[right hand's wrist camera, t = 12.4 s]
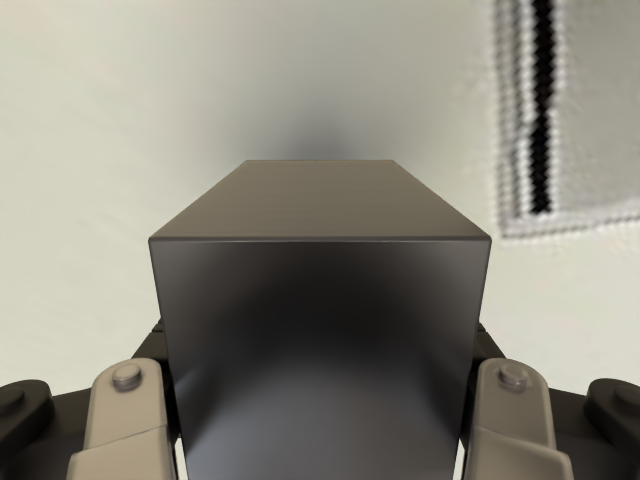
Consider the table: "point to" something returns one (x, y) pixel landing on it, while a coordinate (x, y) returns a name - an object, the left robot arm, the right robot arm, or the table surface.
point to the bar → (320, 322)
